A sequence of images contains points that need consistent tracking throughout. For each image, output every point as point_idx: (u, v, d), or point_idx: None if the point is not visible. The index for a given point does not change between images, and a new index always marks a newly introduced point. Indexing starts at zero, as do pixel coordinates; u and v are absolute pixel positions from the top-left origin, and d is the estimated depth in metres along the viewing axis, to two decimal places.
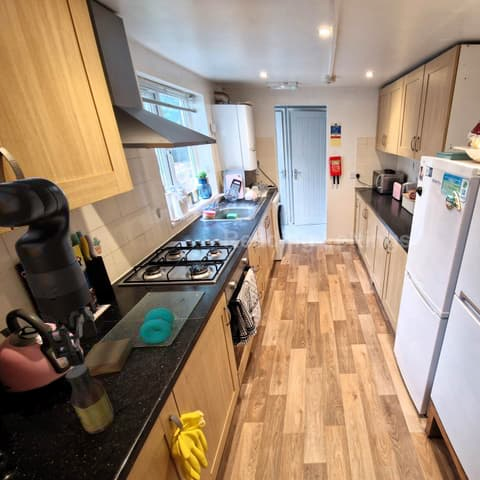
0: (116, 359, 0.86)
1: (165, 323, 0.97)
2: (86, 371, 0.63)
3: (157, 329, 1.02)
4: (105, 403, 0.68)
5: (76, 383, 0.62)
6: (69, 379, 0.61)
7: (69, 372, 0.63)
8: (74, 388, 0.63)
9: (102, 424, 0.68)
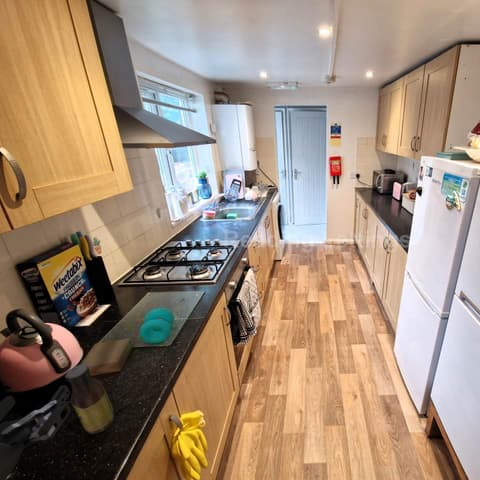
0: (116, 359, 0.86)
1: (165, 323, 0.97)
2: (86, 371, 0.63)
3: (157, 329, 1.02)
4: (105, 403, 0.68)
5: (76, 383, 0.62)
6: (69, 379, 0.61)
7: (69, 372, 0.63)
8: (74, 388, 0.63)
9: (102, 424, 0.68)
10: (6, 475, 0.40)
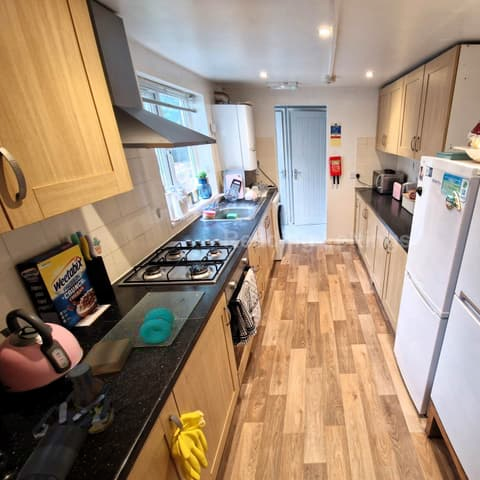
0: (116, 359, 0.86)
1: (165, 323, 0.97)
2: (88, 370, 0.64)
3: (157, 329, 1.02)
4: None
5: (78, 382, 0.63)
6: (71, 377, 0.62)
7: (72, 370, 0.63)
8: (76, 387, 0.63)
9: None
10: (79, 448, 0.56)
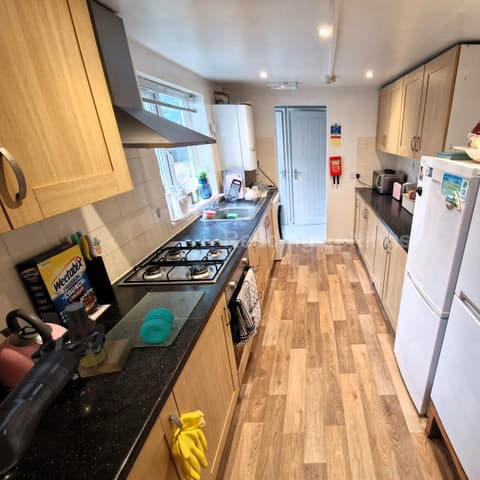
0: (116, 359, 0.86)
1: (165, 323, 0.97)
2: (83, 307, 0.69)
3: (157, 329, 1.02)
4: None
5: (73, 317, 0.68)
6: (67, 312, 0.67)
7: (67, 307, 0.69)
8: (71, 322, 0.69)
9: (95, 361, 0.74)
10: (73, 371, 0.62)
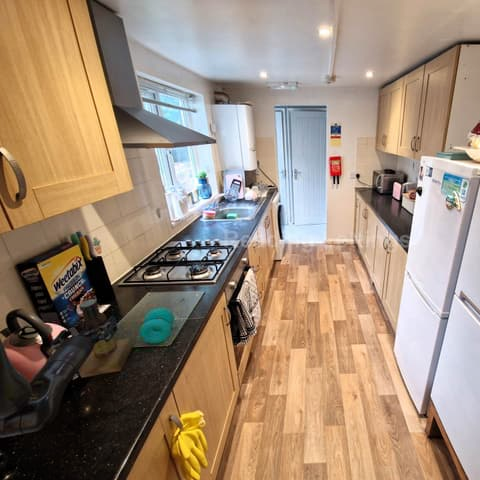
0: (116, 359, 0.86)
1: (165, 323, 0.97)
2: (94, 303, 0.82)
3: (157, 329, 1.02)
4: None
5: (87, 312, 0.81)
6: (82, 308, 0.80)
7: (81, 303, 0.81)
8: (85, 316, 0.81)
9: (107, 349, 0.87)
10: (89, 353, 0.75)
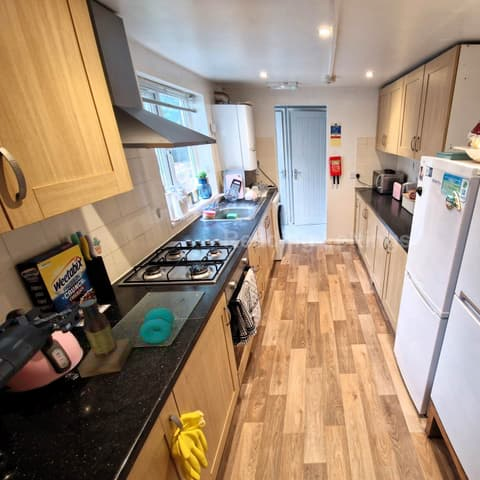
0: (116, 359, 0.86)
1: (165, 323, 0.97)
2: (95, 303, 0.82)
3: (157, 329, 1.02)
4: (109, 332, 0.86)
5: (87, 312, 0.81)
6: (82, 308, 0.80)
7: (82, 303, 0.81)
8: (85, 316, 0.81)
9: (107, 349, 0.87)
10: (38, 347, 0.58)
